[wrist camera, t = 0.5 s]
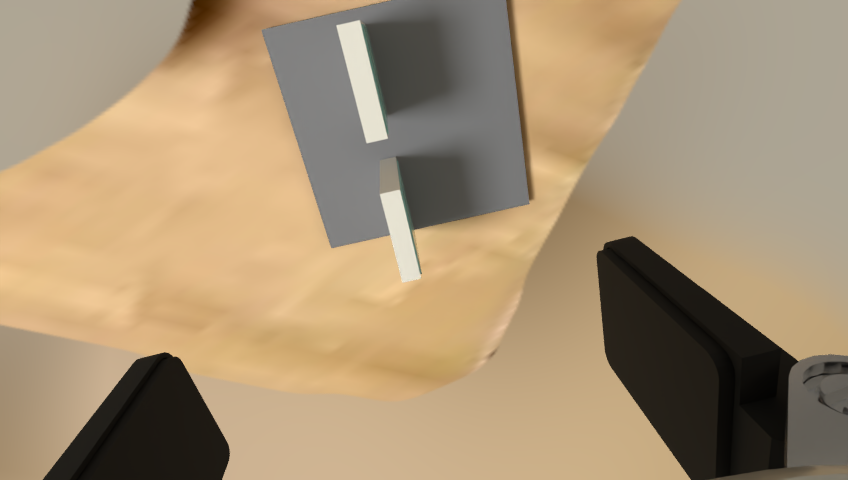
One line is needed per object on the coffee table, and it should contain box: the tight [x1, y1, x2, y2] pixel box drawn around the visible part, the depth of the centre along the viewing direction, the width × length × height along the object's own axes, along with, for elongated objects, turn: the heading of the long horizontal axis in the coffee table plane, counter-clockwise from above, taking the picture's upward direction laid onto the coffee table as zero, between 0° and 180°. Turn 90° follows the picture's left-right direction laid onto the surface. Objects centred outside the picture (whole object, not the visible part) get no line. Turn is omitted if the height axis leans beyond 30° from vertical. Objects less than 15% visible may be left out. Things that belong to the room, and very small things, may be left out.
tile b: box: [380, 157, 422, 282], centre depth 31 cm, size 6×1×8 cm, turn 12°
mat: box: [262, 0, 529, 248], centre depth 33 cm, size 16×16×1 cm
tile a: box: [336, 20, 389, 143], centre depth 28 cm, size 6×1×8 cm, turn 12°
